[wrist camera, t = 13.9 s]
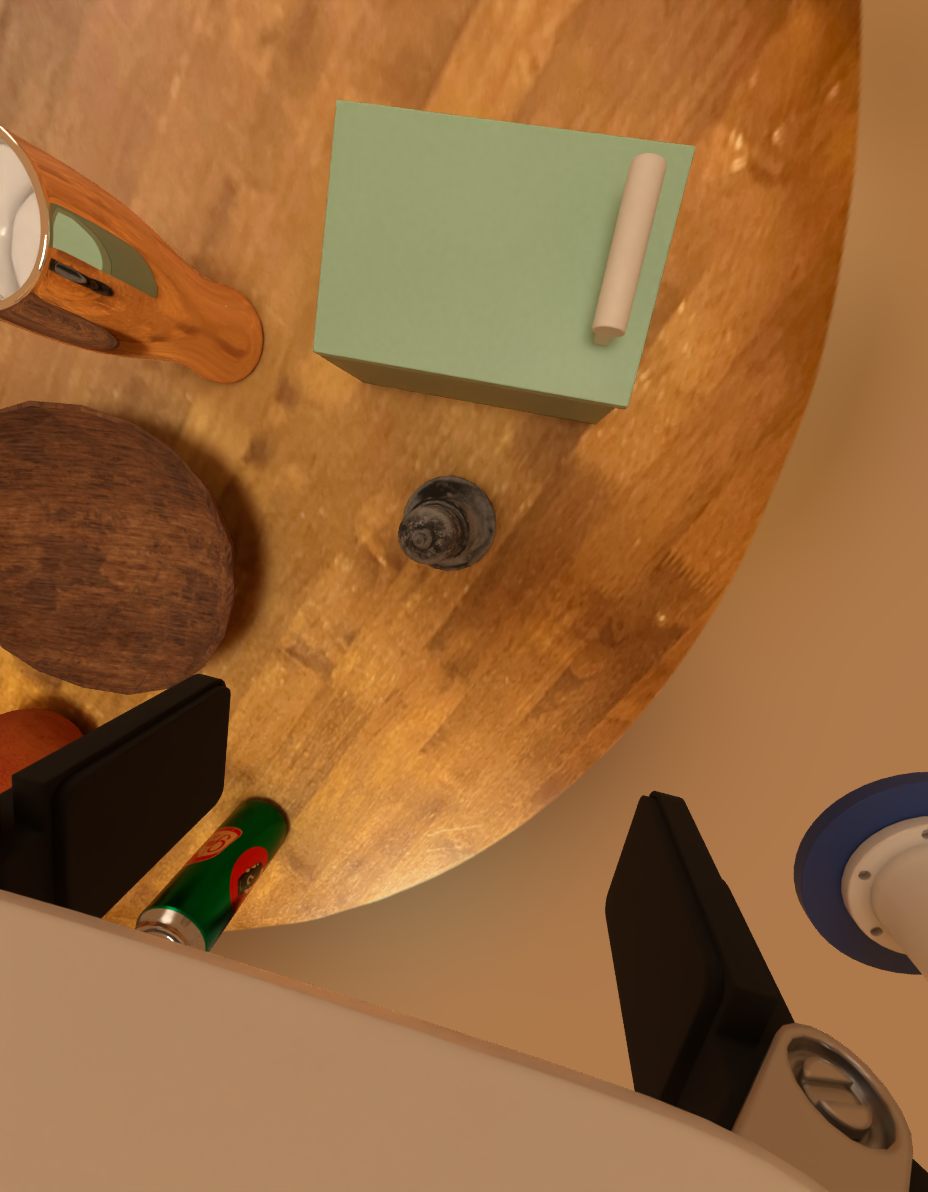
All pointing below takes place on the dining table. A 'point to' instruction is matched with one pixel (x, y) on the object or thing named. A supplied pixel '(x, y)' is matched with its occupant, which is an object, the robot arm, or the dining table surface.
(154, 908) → the soda can
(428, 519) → the chess piece
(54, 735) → the fruit
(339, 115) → the lunchbox lid
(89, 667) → the bowl
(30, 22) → the dining table surface
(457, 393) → the box
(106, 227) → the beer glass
